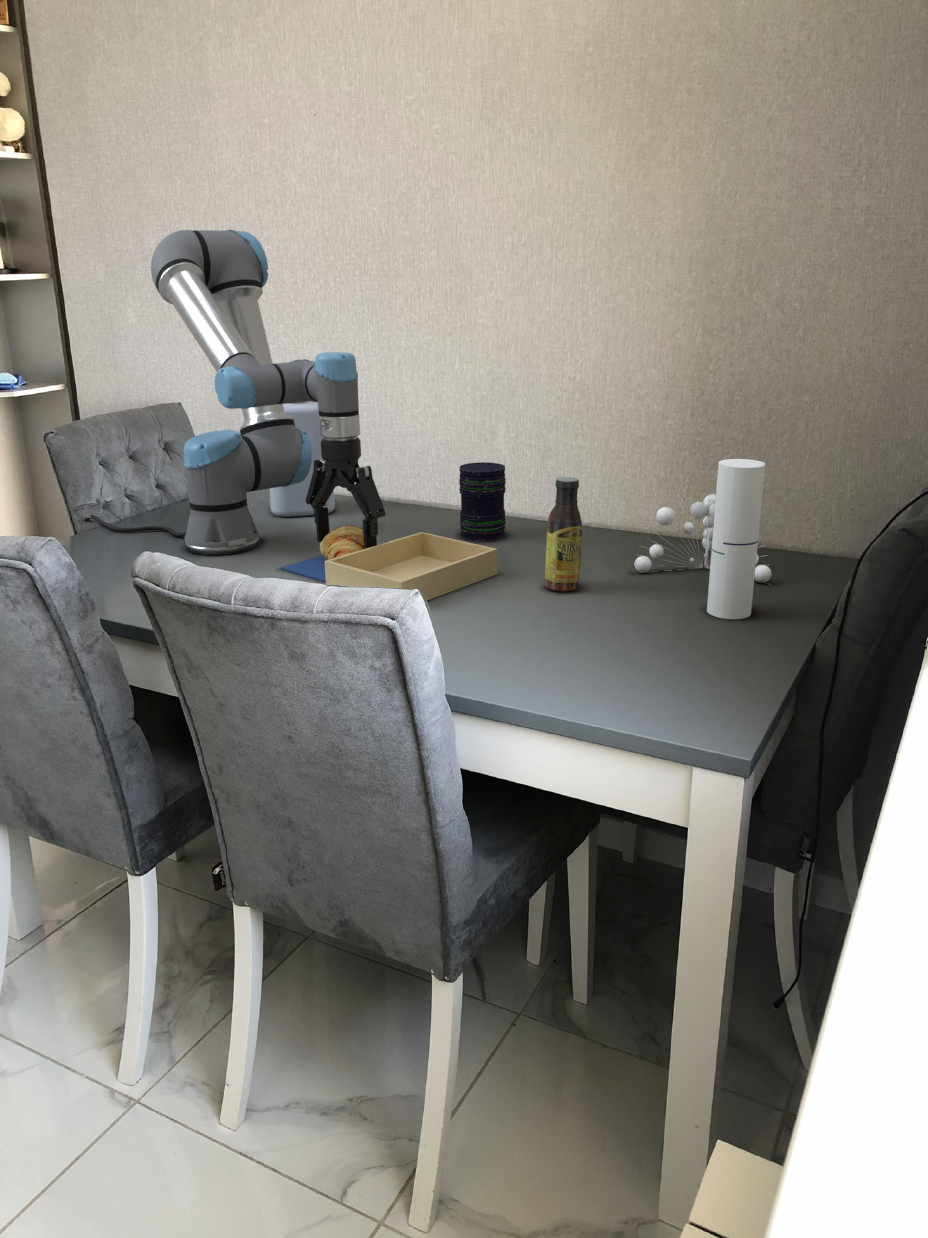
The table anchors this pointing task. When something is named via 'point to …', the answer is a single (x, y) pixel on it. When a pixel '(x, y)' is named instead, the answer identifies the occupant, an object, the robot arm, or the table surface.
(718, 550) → the cylindrical container
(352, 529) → the croissant
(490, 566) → the wooden tray
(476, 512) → the storage jar
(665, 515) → the decorative flower
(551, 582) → the sauce bottle
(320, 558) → the cloth mat
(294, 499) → the plastic bottle
